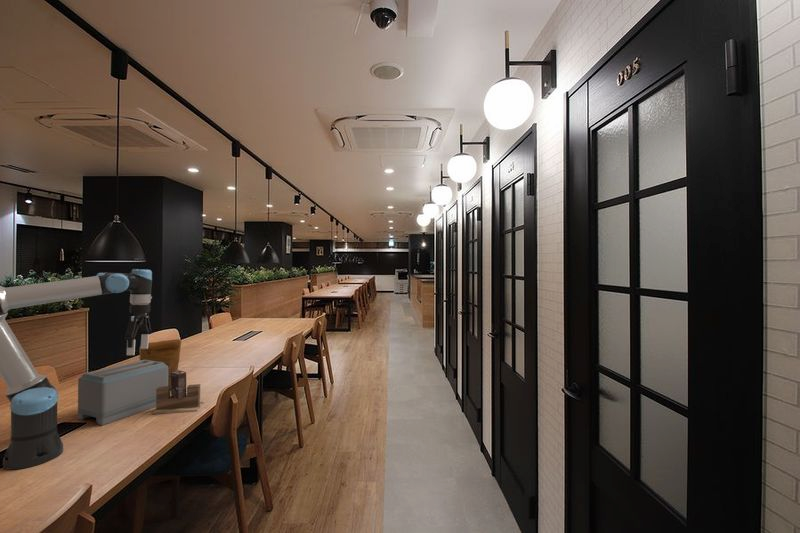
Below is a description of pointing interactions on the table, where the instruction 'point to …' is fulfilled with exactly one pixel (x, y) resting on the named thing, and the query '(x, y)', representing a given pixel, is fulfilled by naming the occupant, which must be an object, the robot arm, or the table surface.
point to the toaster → (120, 390)
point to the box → (178, 384)
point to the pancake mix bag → (163, 354)
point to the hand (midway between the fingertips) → (137, 351)
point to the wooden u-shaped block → (177, 400)
